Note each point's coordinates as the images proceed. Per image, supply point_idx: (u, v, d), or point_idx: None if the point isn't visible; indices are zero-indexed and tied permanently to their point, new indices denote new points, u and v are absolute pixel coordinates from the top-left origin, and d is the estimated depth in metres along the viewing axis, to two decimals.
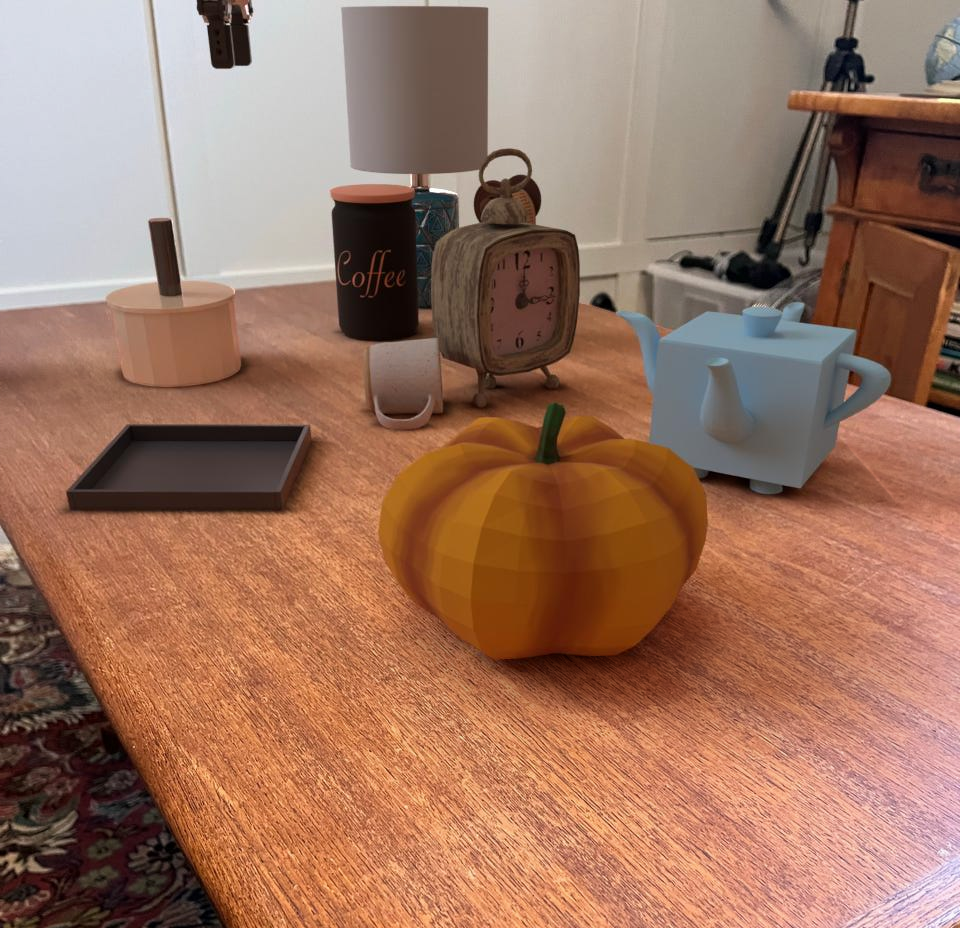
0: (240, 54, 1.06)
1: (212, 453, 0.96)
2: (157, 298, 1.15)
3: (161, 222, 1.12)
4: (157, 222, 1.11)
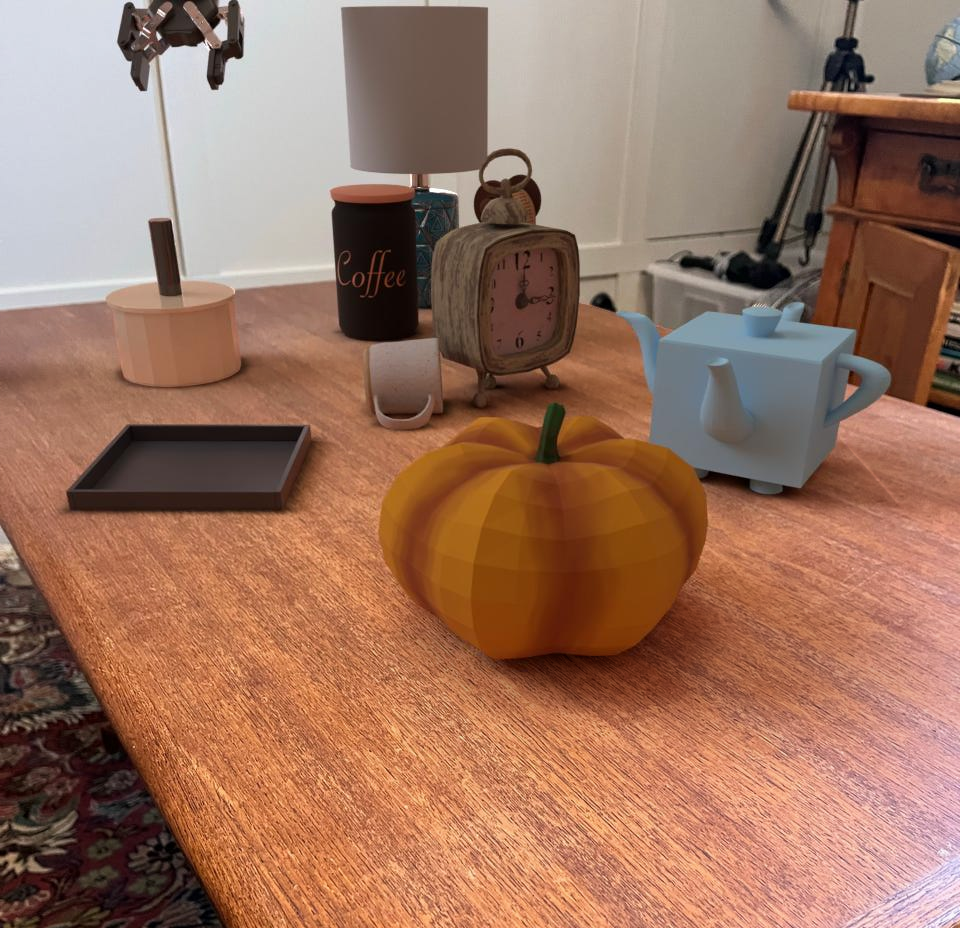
0: (144, 79, 1.17)
1: (212, 453, 0.96)
2: (157, 298, 1.15)
3: (161, 222, 1.12)
4: (157, 222, 1.11)
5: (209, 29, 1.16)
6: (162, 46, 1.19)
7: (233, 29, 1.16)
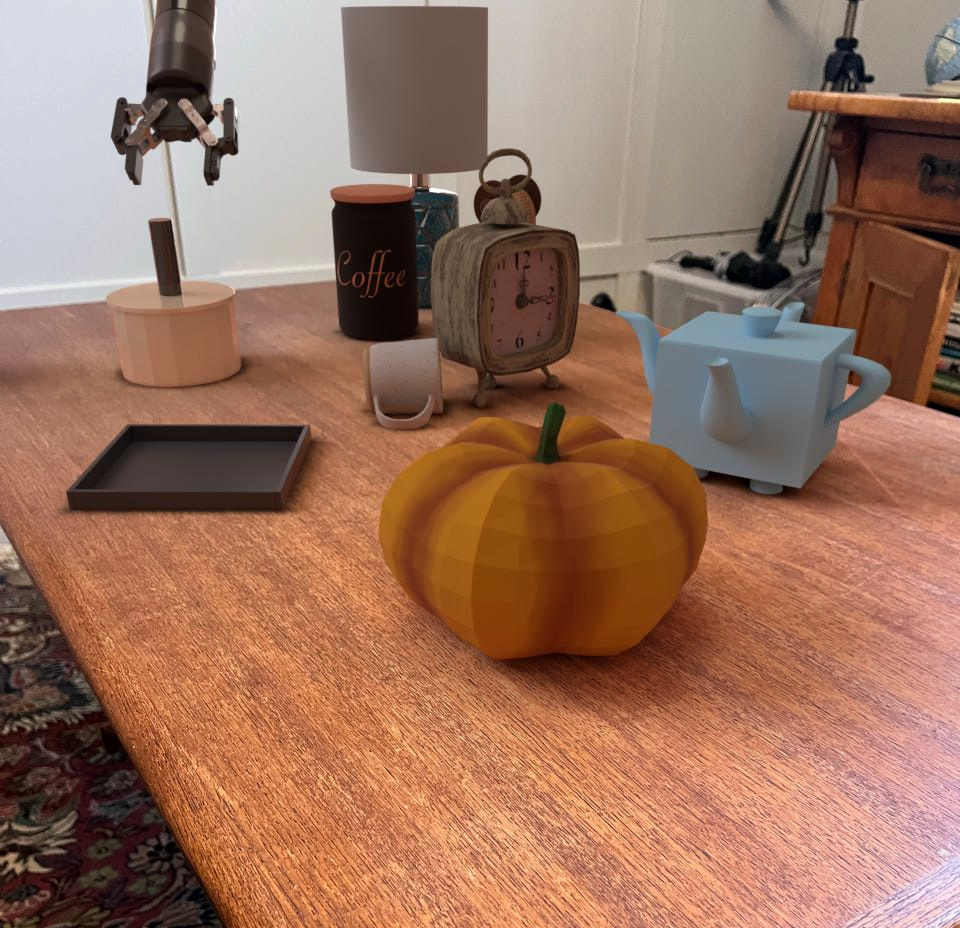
0: (138, 173, 1.17)
1: (212, 453, 0.96)
2: (157, 298, 1.15)
3: (161, 222, 1.12)
4: (157, 222, 1.11)
5: (205, 127, 1.17)
6: (155, 141, 1.20)
7: (229, 127, 1.17)
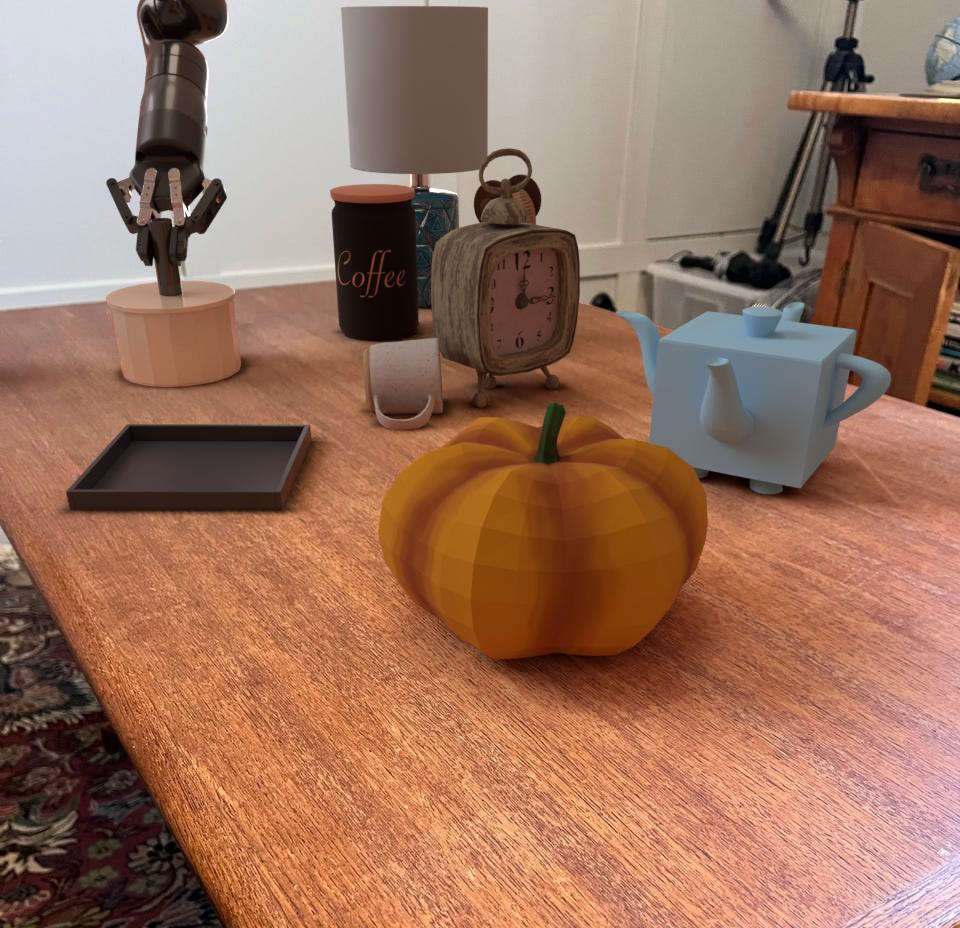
0: (150, 254, 1.13)
1: (212, 453, 0.96)
2: (157, 298, 1.15)
3: (161, 222, 1.12)
4: (157, 222, 1.11)
5: (179, 204, 1.13)
6: (157, 213, 1.16)
7: (201, 208, 1.13)
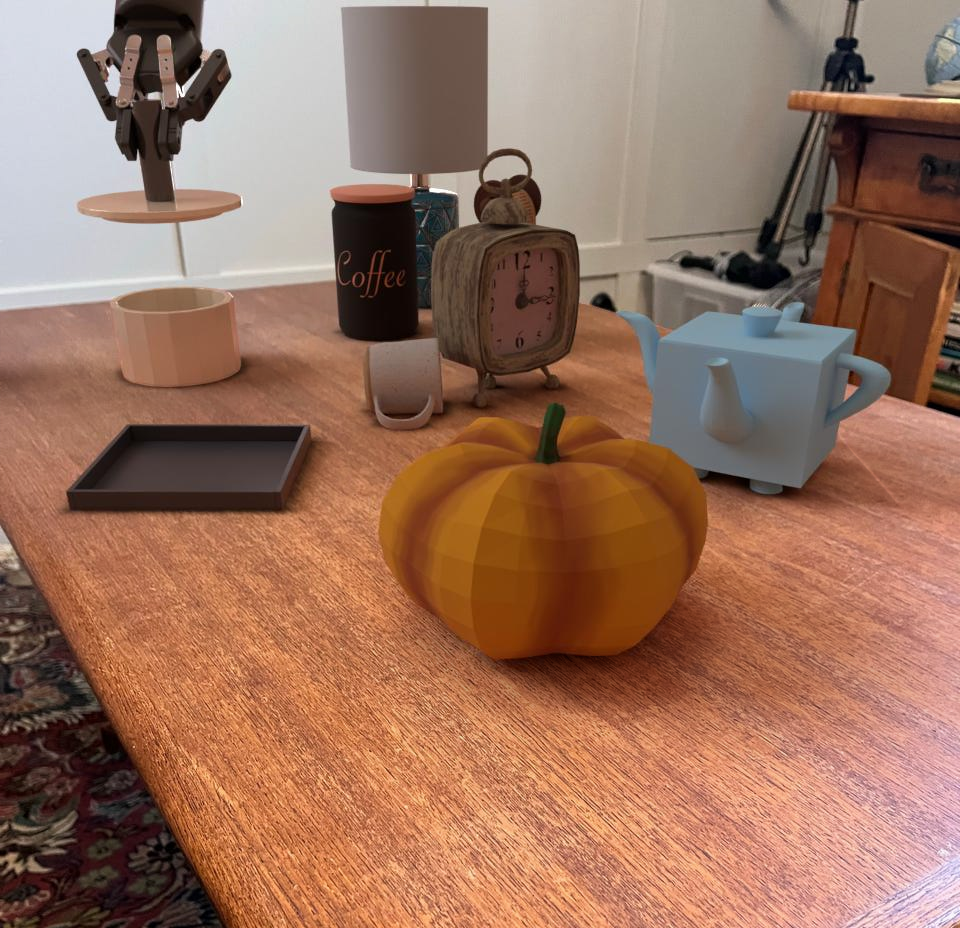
0: (133, 145, 0.88)
1: (212, 453, 0.96)
2: (143, 203, 0.90)
3: (147, 102, 0.86)
4: (142, 102, 0.86)
5: (171, 80, 0.88)
6: (143, 95, 0.90)
7: (199, 85, 0.88)
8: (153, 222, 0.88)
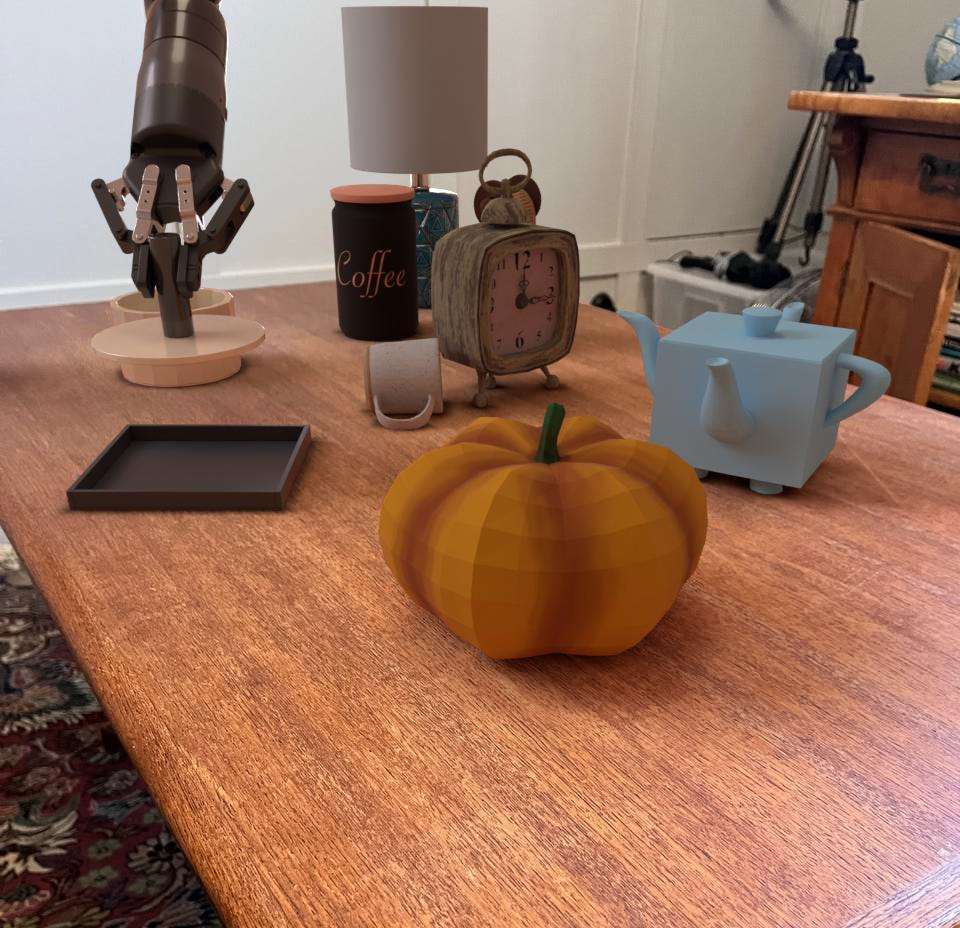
0: (150, 282, 0.83)
1: (212, 453, 0.96)
2: (161, 341, 0.84)
3: (166, 239, 0.81)
4: (160, 239, 0.81)
5: (191, 214, 0.83)
6: (160, 226, 0.85)
7: (221, 218, 0.83)
8: (171, 365, 0.82)
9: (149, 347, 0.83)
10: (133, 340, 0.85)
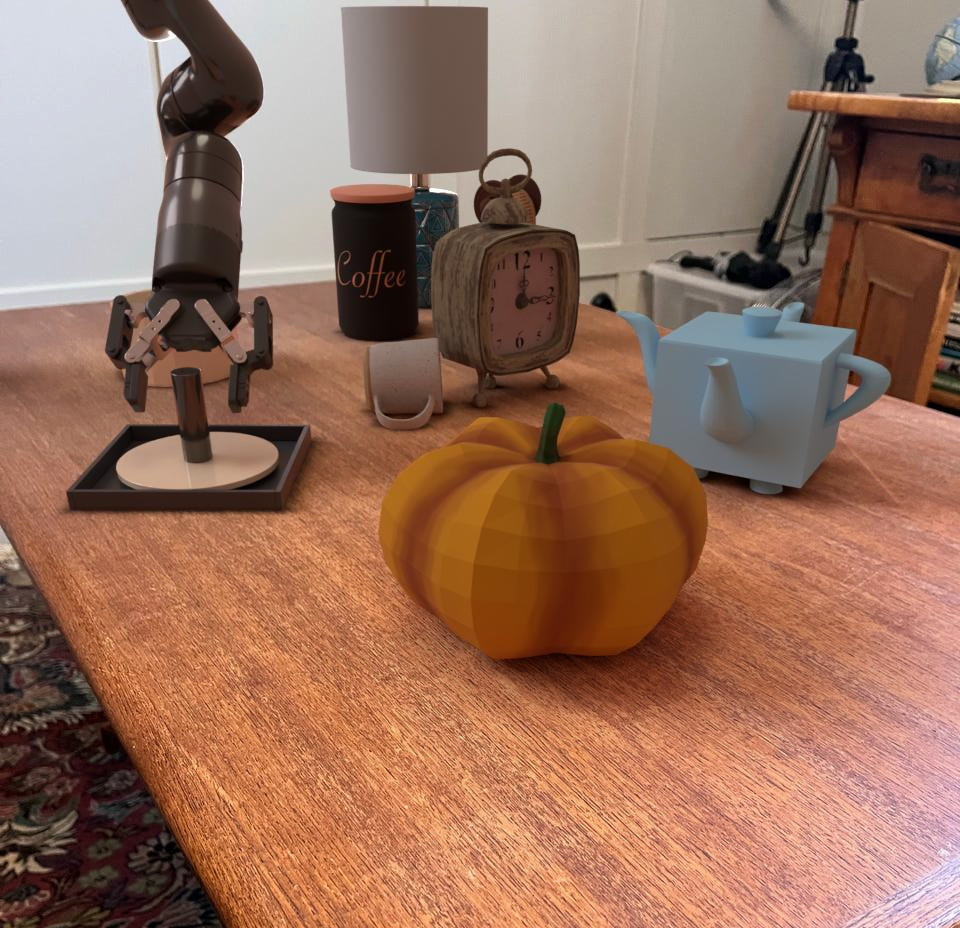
0: (141, 398, 0.89)
1: None
2: (181, 467, 0.90)
3: (187, 376, 0.87)
4: (182, 376, 0.87)
5: (230, 338, 0.88)
6: (164, 350, 0.91)
7: (262, 338, 0.89)
8: None
9: (171, 475, 0.89)
10: (155, 465, 0.91)
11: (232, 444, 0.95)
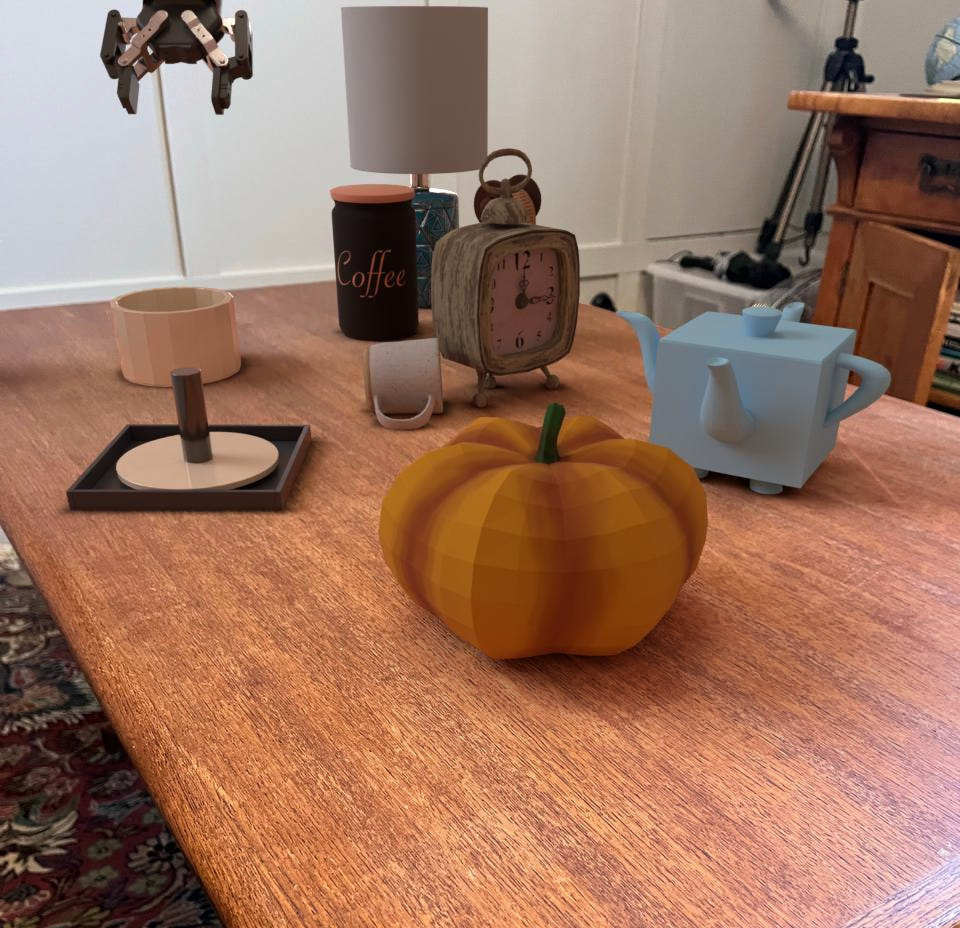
0: (133, 99, 0.98)
1: None
2: (181, 467, 0.90)
3: (187, 376, 0.87)
4: (182, 376, 0.87)
5: (213, 44, 0.98)
6: (154, 62, 1.00)
7: (242, 45, 0.98)
8: None
9: (171, 475, 0.89)
10: (155, 465, 0.91)
11: (232, 444, 0.95)
